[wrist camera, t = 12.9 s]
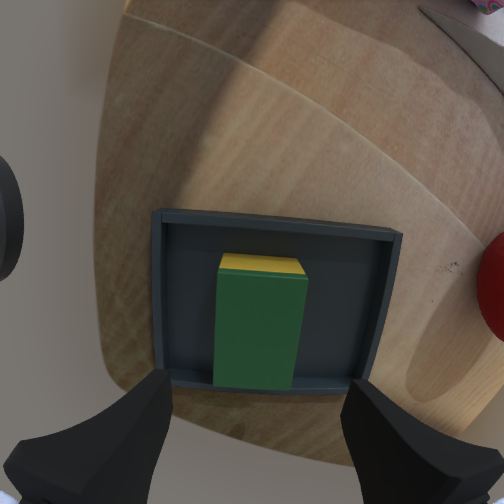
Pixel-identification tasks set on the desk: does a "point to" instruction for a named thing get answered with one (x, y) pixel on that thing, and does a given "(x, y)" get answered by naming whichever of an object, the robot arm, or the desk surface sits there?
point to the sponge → (257, 321)
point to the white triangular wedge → (474, 45)
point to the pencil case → (488, 5)
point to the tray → (316, 304)
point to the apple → (492, 286)
